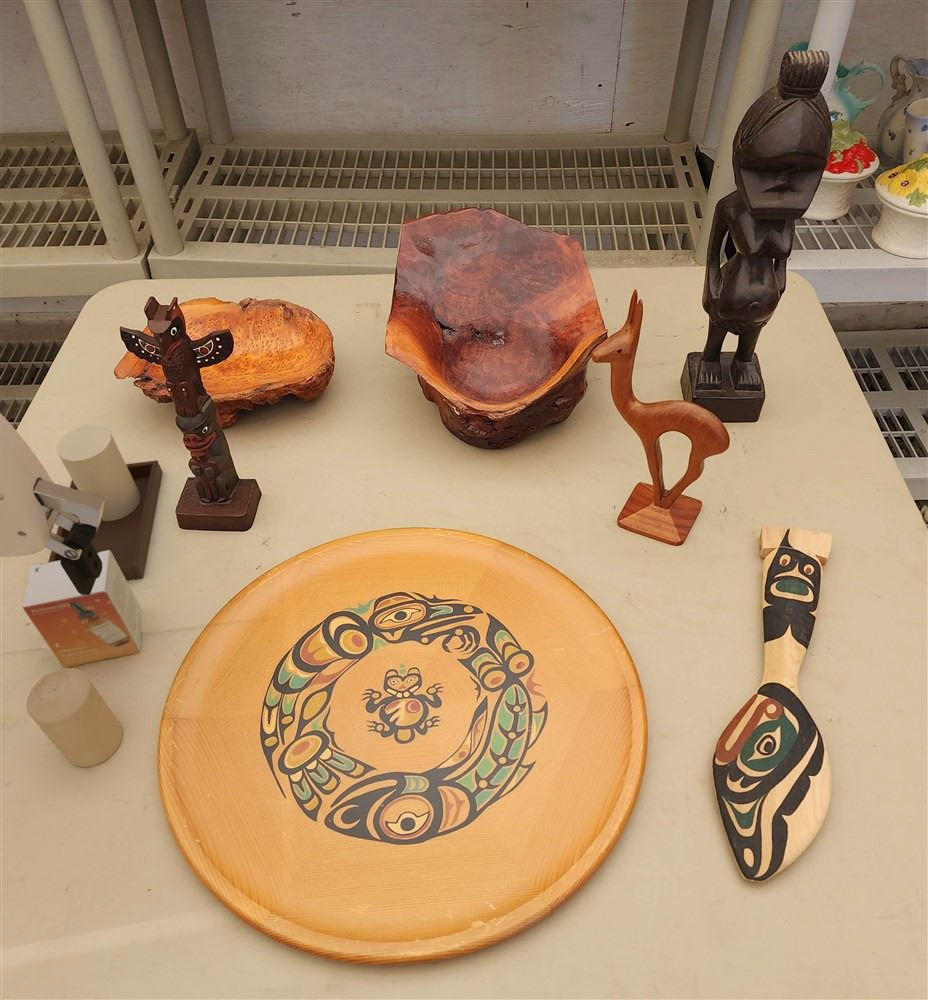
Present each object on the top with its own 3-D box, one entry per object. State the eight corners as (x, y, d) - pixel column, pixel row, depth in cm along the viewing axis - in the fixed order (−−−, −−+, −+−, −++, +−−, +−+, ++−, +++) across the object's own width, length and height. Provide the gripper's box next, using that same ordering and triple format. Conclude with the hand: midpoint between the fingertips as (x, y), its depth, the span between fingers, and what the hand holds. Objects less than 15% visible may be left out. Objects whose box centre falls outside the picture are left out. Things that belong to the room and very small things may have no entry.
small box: (63, 669, 89) (19, 608, 81) (69, 626, 93) (27, 564, 85) (142, 653, 90) (105, 591, 82) (145, 611, 93) (110, 548, 86)
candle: (120, 762, 81) (78, 707, 74) (60, 773, 81) (13, 718, 74) (126, 711, 85) (87, 654, 78) (69, 721, 85) (25, 664, 77)
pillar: (86, 524, 102) (51, 463, 95) (95, 488, 106) (62, 428, 99) (136, 518, 102) (106, 456, 95) (144, 482, 107) (115, 421, 99)
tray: (52, 593, 96) (43, 579, 94) (82, 485, 108) (74, 470, 106) (144, 581, 96) (136, 566, 94) (164, 475, 108) (157, 460, 106)
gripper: (-257, 457, 51) (-102, 625, 64) (24, 446, 50) (126, 619, 63) (-189, 378, 56) (-59, 548, 69) (67, 366, 56) (153, 541, 68)
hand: (29, 582), depth 66 cm, fingers open, 9 cm apart
